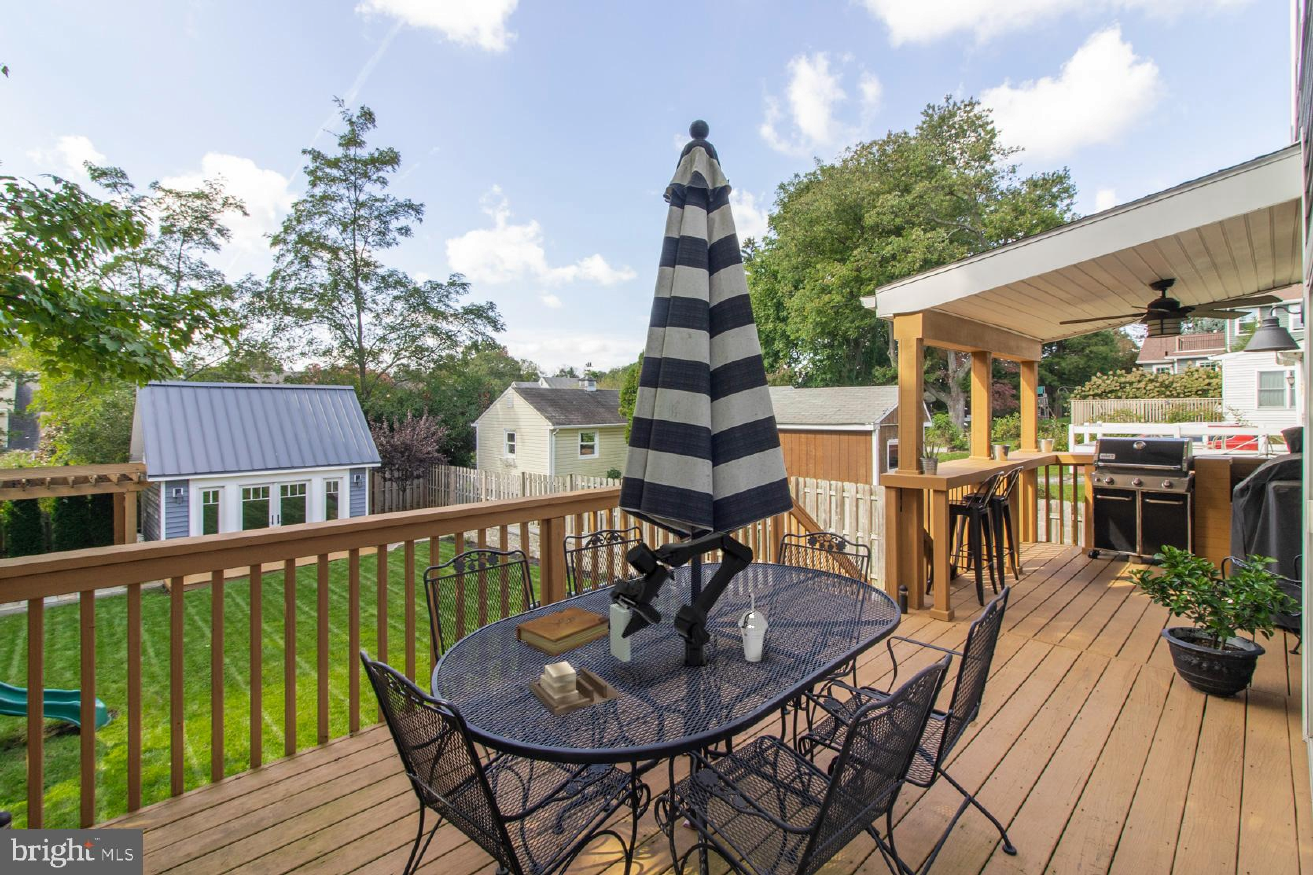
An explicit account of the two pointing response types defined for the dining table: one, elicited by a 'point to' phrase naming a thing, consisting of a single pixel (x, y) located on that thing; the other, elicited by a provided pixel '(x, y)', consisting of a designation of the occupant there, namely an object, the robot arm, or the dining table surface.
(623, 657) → the sage panel
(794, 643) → the dining table surface
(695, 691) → the dining table surface
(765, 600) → the dining table surface
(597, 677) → the tray
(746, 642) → the cup with straw
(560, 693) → the offcut stack
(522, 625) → the diary
